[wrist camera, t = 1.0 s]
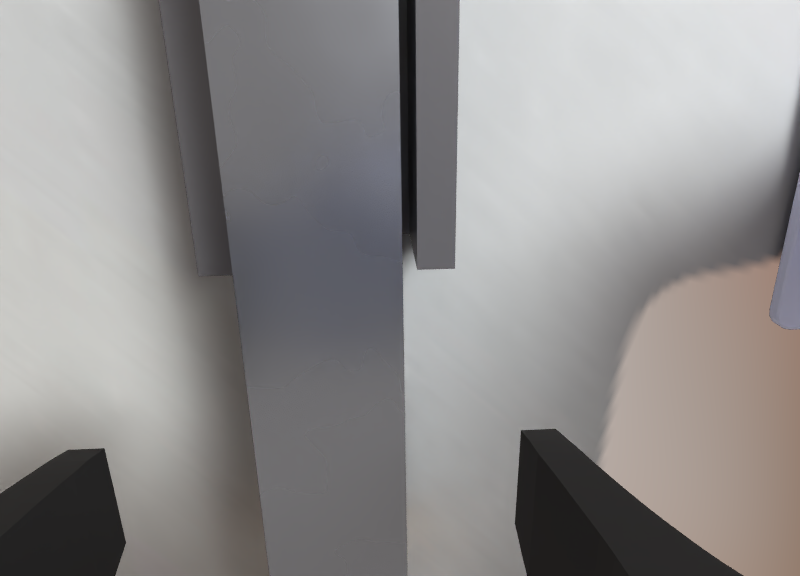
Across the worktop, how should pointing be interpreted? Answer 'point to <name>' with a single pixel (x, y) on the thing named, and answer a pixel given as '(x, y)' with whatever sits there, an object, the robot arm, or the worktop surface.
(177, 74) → the grey u-shaped channel
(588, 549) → the robot arm
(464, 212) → the worktop surface
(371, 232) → the bar
